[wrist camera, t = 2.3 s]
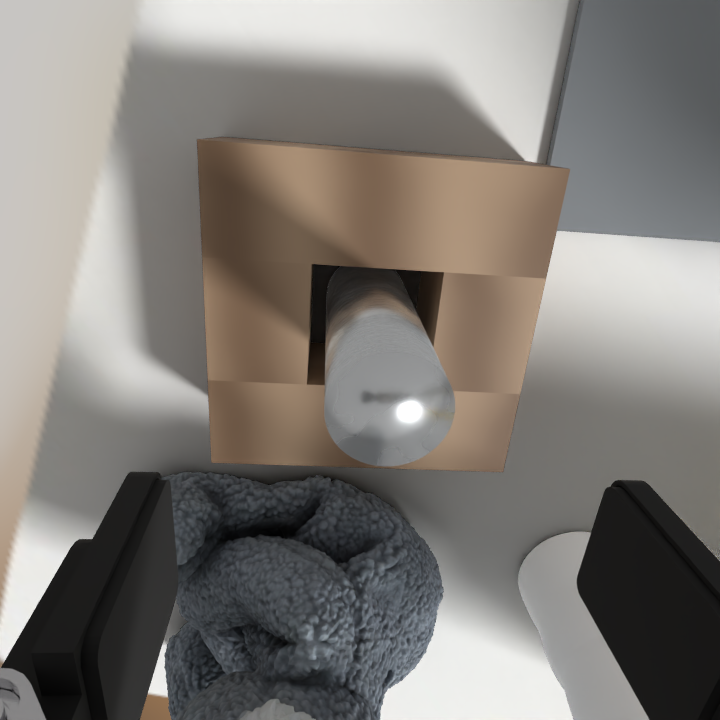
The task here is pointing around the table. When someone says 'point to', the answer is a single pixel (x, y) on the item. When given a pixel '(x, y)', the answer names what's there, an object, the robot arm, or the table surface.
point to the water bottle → (574, 632)
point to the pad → (641, 120)
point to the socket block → (372, 250)
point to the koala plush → (293, 600)
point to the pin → (381, 371)
